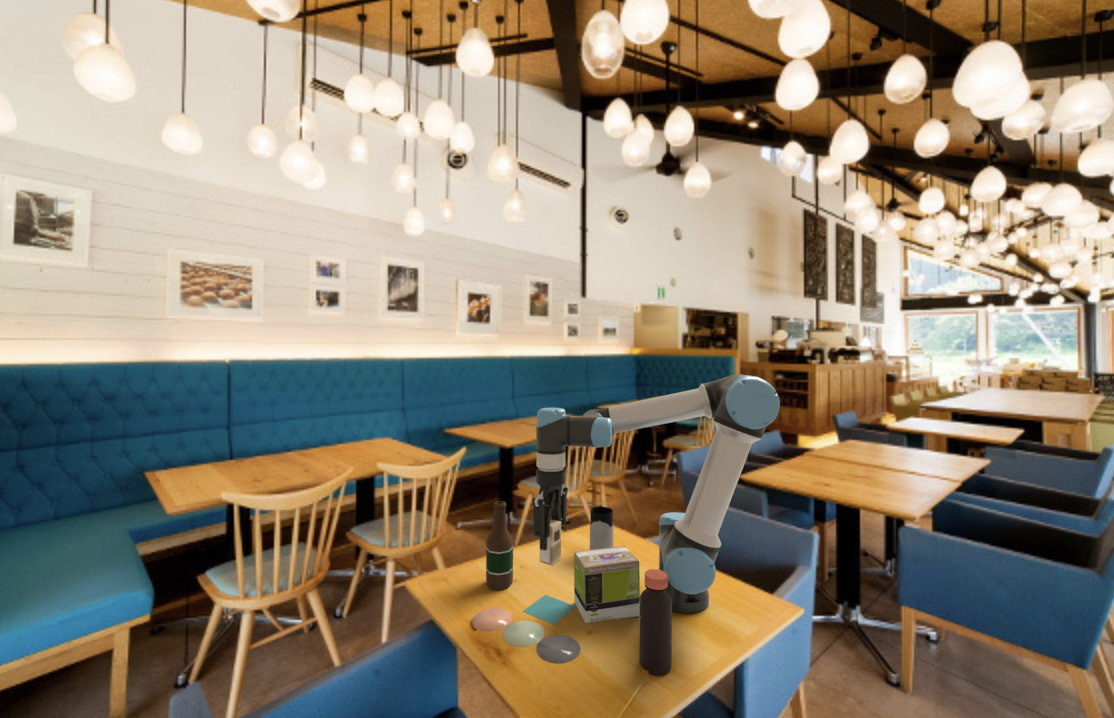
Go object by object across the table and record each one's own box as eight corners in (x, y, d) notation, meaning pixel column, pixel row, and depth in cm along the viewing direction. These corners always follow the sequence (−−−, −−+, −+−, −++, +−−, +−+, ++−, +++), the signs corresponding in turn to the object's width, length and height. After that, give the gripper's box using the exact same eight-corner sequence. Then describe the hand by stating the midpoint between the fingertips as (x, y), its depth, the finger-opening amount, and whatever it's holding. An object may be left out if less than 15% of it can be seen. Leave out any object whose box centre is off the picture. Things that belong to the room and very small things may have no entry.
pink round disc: (520, 618, 117) (520, 616, 117) (494, 638, 109) (494, 636, 109) (491, 606, 123) (491, 603, 122) (464, 624, 114) (464, 621, 114)
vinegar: (644, 677, 96) (645, 582, 96) (635, 656, 103) (636, 567, 102) (676, 675, 97) (677, 581, 96) (665, 654, 103) (666, 566, 103)
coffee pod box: (625, 597, 127) (625, 544, 127) (640, 617, 118) (641, 560, 117) (573, 604, 124) (573, 549, 123) (584, 626, 114) (584, 566, 114)
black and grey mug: (585, 558, 151) (586, 513, 151) (594, 541, 165) (594, 499, 165) (612, 562, 149) (612, 516, 149) (618, 544, 162) (618, 502, 162)
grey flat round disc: (588, 647, 106) (588, 644, 106) (564, 672, 97) (564, 669, 97) (552, 632, 111) (552, 629, 111) (527, 654, 103) (527, 651, 103)
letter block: (561, 559, 120) (561, 521, 120) (552, 565, 116) (552, 526, 116) (548, 556, 122) (548, 518, 122) (539, 561, 119) (539, 523, 118)
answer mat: (575, 608, 122) (575, 606, 122) (554, 626, 113) (554, 624, 113) (545, 596, 127) (545, 594, 127) (522, 613, 119) (522, 611, 119)
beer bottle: (518, 583, 135) (518, 501, 134) (498, 593, 129) (499, 508, 128) (500, 574, 140) (500, 496, 139) (480, 584, 134) (480, 502, 133)
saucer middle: (552, 632, 111) (552, 629, 111) (527, 654, 103) (527, 651, 103) (520, 618, 117) (520, 616, 117) (494, 638, 109) (494, 636, 109)
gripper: (556, 459, 128) (556, 543, 128) (519, 473, 114) (518, 566, 114) (579, 463, 124) (579, 549, 124) (544, 477, 110) (543, 574, 110)
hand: (550, 557), depth 119 cm, fingers closed on letter block, 4 cm apart
